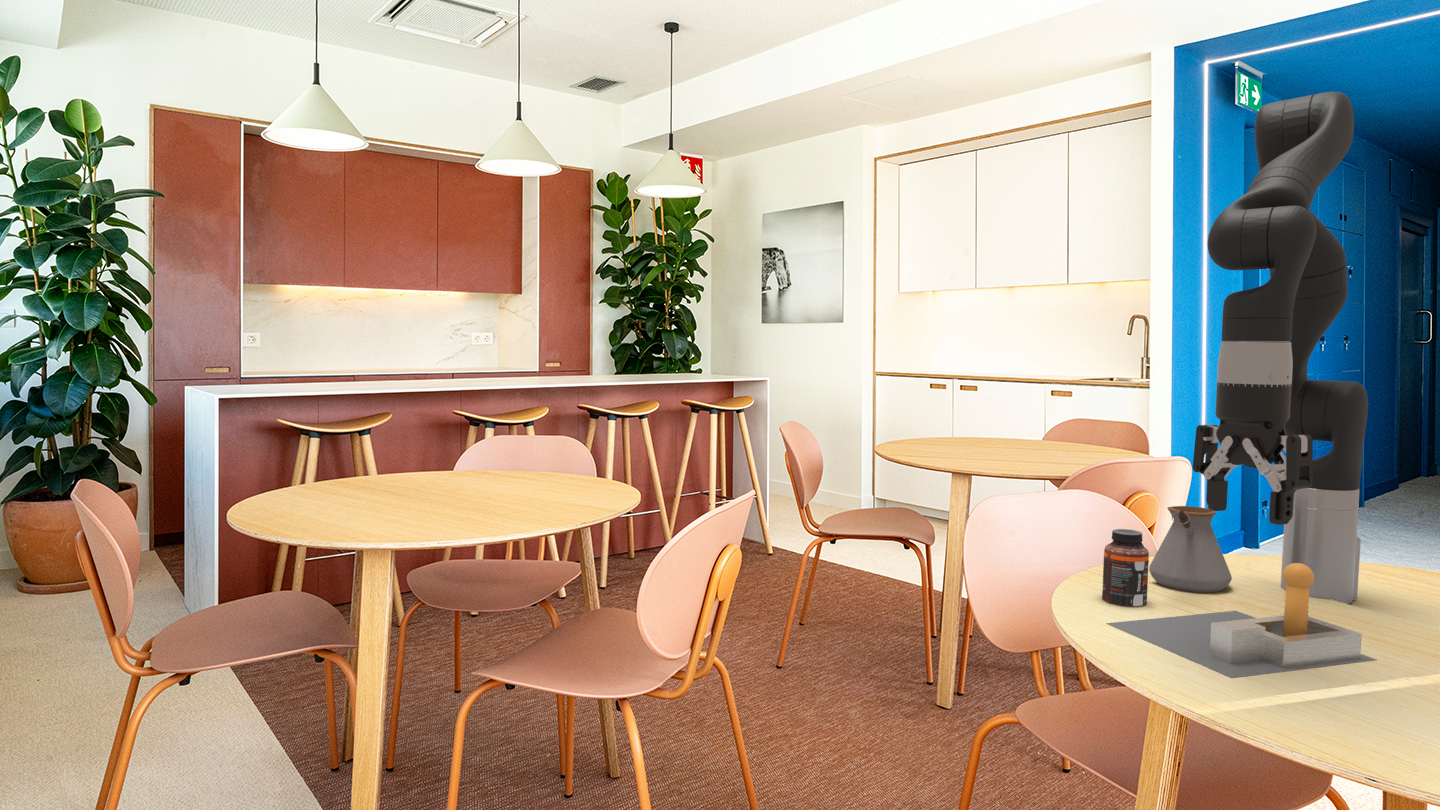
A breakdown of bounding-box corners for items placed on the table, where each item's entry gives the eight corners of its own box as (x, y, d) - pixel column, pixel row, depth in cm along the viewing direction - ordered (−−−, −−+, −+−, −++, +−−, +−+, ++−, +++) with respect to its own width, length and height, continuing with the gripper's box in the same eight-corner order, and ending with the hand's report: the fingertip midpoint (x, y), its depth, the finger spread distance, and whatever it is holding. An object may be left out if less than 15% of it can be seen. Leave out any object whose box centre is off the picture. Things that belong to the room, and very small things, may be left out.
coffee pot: (1154, 576, 146) (1158, 487, 145) (1233, 588, 140) (1238, 494, 139) (1131, 607, 128) (1136, 506, 127) (1221, 622, 122) (1227, 515, 121)
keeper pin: (1292, 645, 110) (1297, 559, 109) (1316, 654, 107) (1321, 565, 106) (1272, 647, 109) (1277, 561, 108) (1295, 656, 106) (1300, 567, 105)
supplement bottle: (1151, 615, 125) (1155, 536, 124) (1106, 612, 126) (1110, 534, 125) (1140, 603, 131) (1143, 528, 130) (1097, 600, 132) (1100, 526, 131)
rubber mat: (1235, 617, 124) (1235, 610, 124) (1376, 667, 105) (1377, 659, 105) (1105, 630, 118) (1105, 623, 118) (1231, 686, 99) (1231, 677, 99)
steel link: (1299, 636, 113) (1300, 606, 113) (1360, 658, 105) (1362, 625, 105) (1193, 648, 108) (1194, 616, 108) (1248, 671, 101) (1250, 637, 100)
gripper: (1336, 383, 97) (1327, 527, 99) (1228, 377, 111) (1221, 504, 112) (1283, 383, 95) (1275, 531, 96) (1180, 378, 109) (1174, 507, 110)
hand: (1246, 516), depth 104 cm, fingers open, 8 cm apart
